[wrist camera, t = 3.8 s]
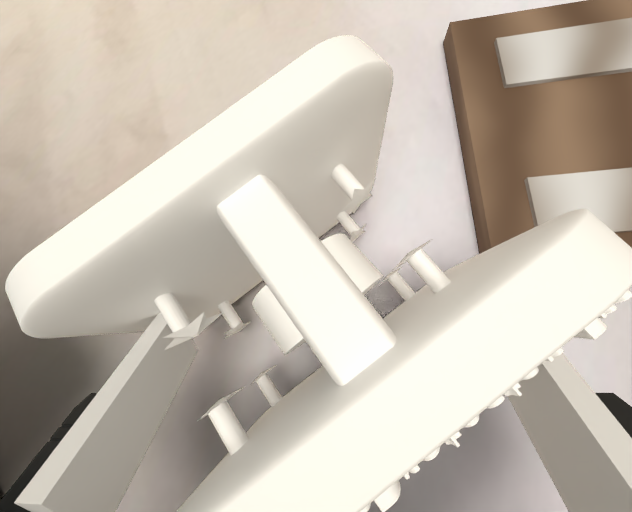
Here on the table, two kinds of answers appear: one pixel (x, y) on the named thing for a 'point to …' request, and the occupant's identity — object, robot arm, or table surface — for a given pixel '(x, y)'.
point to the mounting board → (545, 115)
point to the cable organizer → (318, 290)
